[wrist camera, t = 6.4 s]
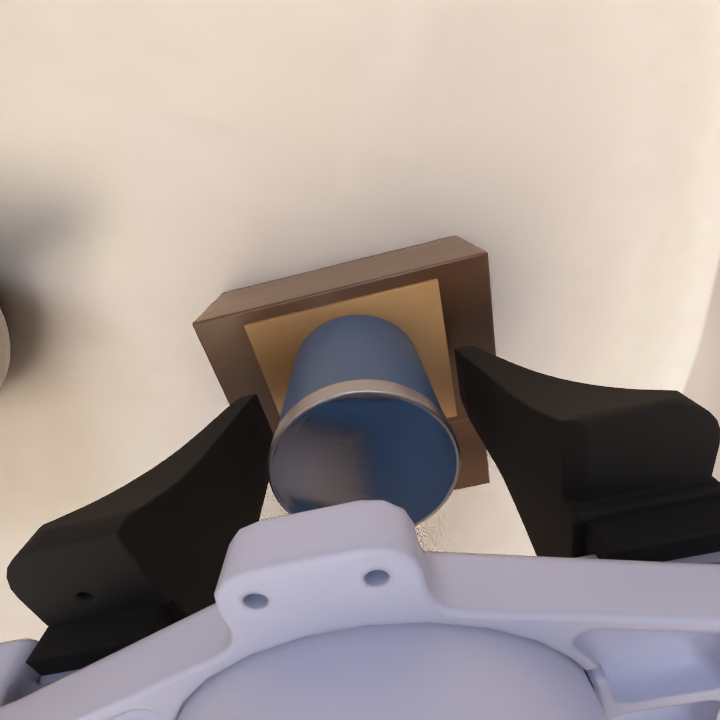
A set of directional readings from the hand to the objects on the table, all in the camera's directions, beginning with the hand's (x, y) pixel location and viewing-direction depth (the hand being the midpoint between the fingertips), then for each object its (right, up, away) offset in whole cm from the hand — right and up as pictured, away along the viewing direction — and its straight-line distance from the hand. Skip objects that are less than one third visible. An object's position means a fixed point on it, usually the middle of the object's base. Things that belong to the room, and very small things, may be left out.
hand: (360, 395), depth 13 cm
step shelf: (+1, -1, +7) cm, 7 cm away
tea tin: (0, +1, +1) cm, 2 cm away
